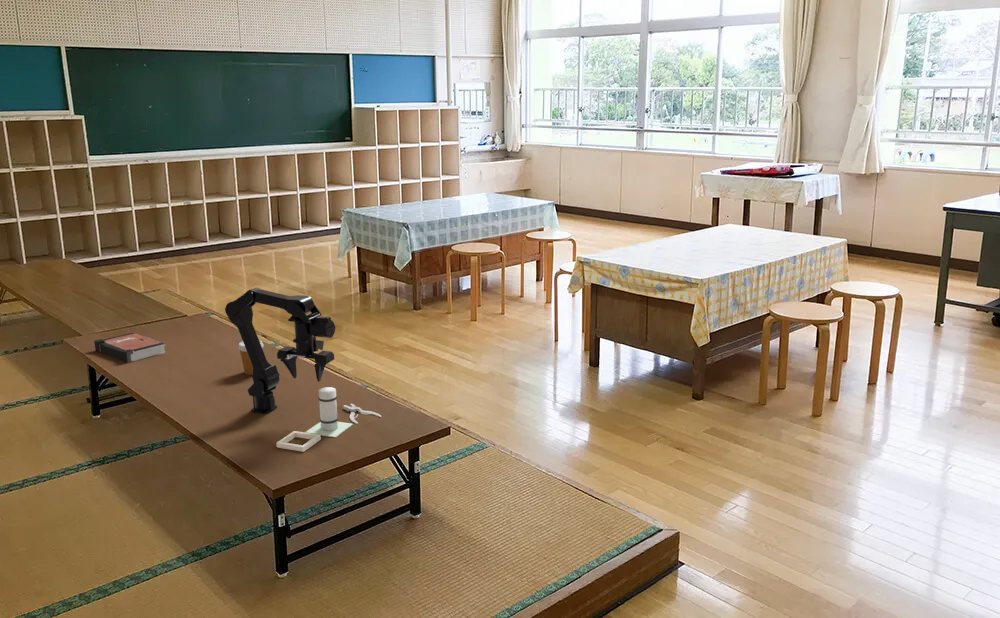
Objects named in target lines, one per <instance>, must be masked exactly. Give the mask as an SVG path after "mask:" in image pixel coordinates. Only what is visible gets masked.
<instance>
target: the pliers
mask: <svg viewBox="0 0 1000 618" xmlns="http://www.w3.org/2000/svg"><path fill="white" fill-rule="evenodd" d="M343 410H345V411H347V412H350V415H349V420H350V421H351V422H352V424H355V425H359V422H358V421H357V420H356V419H357V418H358V416H359V414H360V415H363V416H366V415H367V416H369V415H373V416H376V417H377V418H378V417H379V418H381V419H382V418H383V416H382V415H381V414H379V413H377V412H374V411H371V410H363V409H362V408H361V407H359V406H357V405H355V404H354V403H350V405H346V404H344V405H343ZM356 412H358V413H359V414H358V413H357V414H356Z"/></svg>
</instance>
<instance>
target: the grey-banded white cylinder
mask: <svg viewBox="0 0 1000 618" xmlns="http://www.w3.org/2000/svg"><path fill="white" fill-rule="evenodd" d="M337 398H338V396H337V389H336V388H335V387H331V386H326V387H321V388H319V389H318V401H319V405H318V406H319V422H321V430H323V431H333V430H336V429H337V428H338V422H339V421H338V420H339V417H338V407H337V406H338V405H337Z"/></svg>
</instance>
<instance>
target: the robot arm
mask: <svg viewBox="0 0 1000 618" xmlns="http://www.w3.org/2000/svg"><path fill="white" fill-rule="evenodd" d="M257 303H258V304H262V305H265V306H269V307H274V308H278V309H282V310H285V312H287V313H288V314H290V317H289V318H288V319H287V321H288V322H293V323H294V325H293V326H294V337H295V338H293V339H292V342H293V343H295V346H288V345H286V346H284V347H282V348H280V349H278V350H277V352H276V358H277V359H279V360H280V362H282V363H283V364H284V365H285V368H287V370H288V371H289V373H290V375H291V376H292V378H293V379H297V376H298V375H297V374H298V373H297V359H298V358H303V359H309V360H310V359H312V360H314V362H315V363H314V364H313V365H314V368H315V369H314V370H315V375H316V376H315V377H316V380H317V382H321V380H322V376H323V373H324V371H325V369H326V366H327V365H328V364H329V363H331V362H333V361H334V360H335V354H334V352H333V351H330V350H324V344H325V343H324V342H325V340H319V339H317V337H319V338H327V339H331V338H333V336H334V335H335V333H336V332H335V331H336V325H335V322H334V321H333V320H332V317H331V316H322V312H321V311H320V310H319V308H318V307H317V306H316V305H315V302H314V301H313V298H312V297H311V296H309V295H303V294H302V295H299V294H298V295H286V294H282V293H277V292H275V291H274V292H273V291H270V290H269V291H268V290H265V289H261V288H260V287H254V288H251V289H248V290H247V291H245V293H244V294H242V295H241V296H239V297H237V298H236V299H235V300H232V301H230V302H228V303H227V304H226V305H225V308H224V313H225V314H226V316H227V318H228V319H229V321H230V323H232V324H233V326H235V327H236V328H237V329H238V332H239V334H240V337H241V340H242V341H243V343H244V345H245V348H246V350H247V353H248V355H249V358H250V360H251V363H252V366H253V373H252V375H251V376H252V377H251V379H252V382H253V384H252V385H251V386H249V388H248V389H247V393H248V395H249V396H250V397H252V404H253V405H252V406H253V407H252V408H251V409H250V412H253V413H262V414H268V413H269V412H271V411H273V410H274V409H276V408H278V406H277V405H276V401H275V396H274V390H276V389H277V386H278V384H279V382H280V373H279V371H278V369H277V368H278V367H277V366H276V365H277V364H273V365H271V363H270V362H269V361H268V360H267V357H266V355H265V352H264V350H263V349H264V348H263V349H262V347H261V344H260V342H259V340H260V339H259V337H258V335H257V331H256V329H255V326H254V324H253V317H254V312H253V311H254V310H253V307H254V306H255V305H256V304H257ZM309 313H310V314H309ZM307 314H308V315H307ZM319 350H320V352H319ZM316 352H317V353H316Z"/></svg>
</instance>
